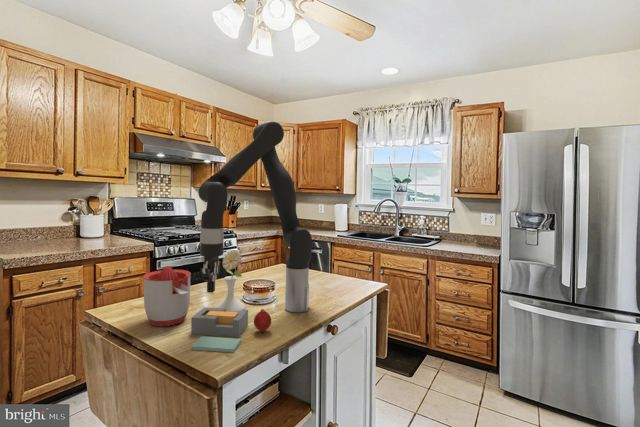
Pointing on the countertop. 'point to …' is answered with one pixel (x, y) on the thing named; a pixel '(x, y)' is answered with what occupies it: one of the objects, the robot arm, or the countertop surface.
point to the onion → (262, 320)
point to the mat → (216, 344)
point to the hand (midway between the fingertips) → (210, 291)
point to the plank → (223, 316)
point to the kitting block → (212, 327)
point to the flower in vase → (231, 283)
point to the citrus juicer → (166, 296)
